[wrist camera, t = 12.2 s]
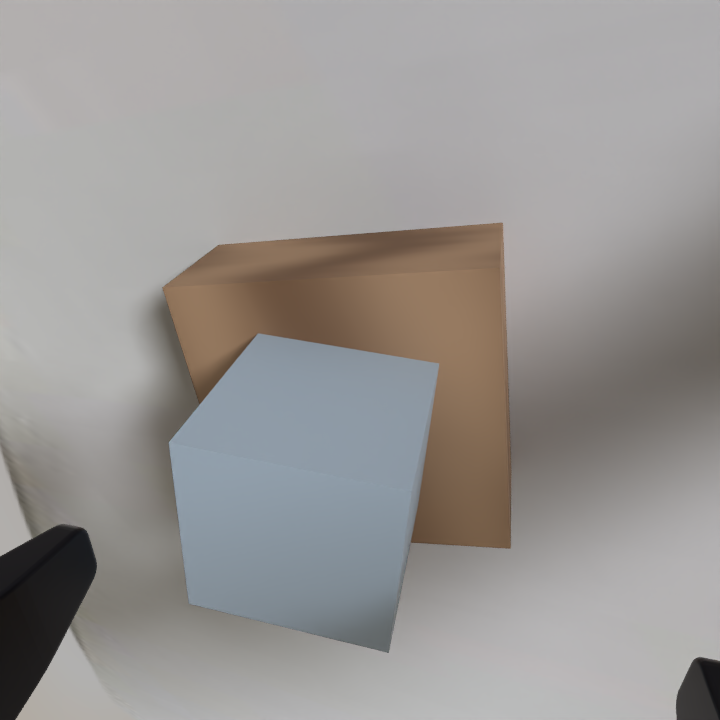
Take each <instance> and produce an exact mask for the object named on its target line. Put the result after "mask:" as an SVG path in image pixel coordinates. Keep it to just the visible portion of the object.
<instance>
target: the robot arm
mask: <svg viewBox="0 0 720 720" xmlns="http://www.w3.org/2000/svg"><path fill="white" fill-rule="evenodd" d="M96 569H97V562H96V558H95V555H94V552H93V548H92V545H91V542H90V539H89V535H88V533H87V531H86V530H85V529H83V528H81V527H76V526H71V525H66V524H62V525H57V526H55V527H53V528H51V529H49V530H47V531H46V532H44V533H42V534H40V535H38V536H37V537H35V538H33V539H31V540H29V541H27V542H26V543H24V544H22V545H20V546H18V547H17V548H15V549H13V550H11V551H9V552H7V553H6V554H4V555H2V556H0V720H15V719H16V718H17V716H18V715H19V713H20V712H21V710H22V708H23V707H24V705H25V704H26V702H27V700H28V699H29V697H30V696H31V694H32V692H33V691H34V689H35V688H36V686H37V685H38V683H39V681H40V680H41V678H42V676H43V674H44V673H45V671H46V670H47V668H48V666H49V664H50V663H51V661H52V659H53V657H54V655H55V653H56V651H57V650H58V647H59V646H60V644H61V642H62V640H63V638H64V636H65V634H66V632H67V630H68V628H69V626H70V624H71V622H72V620H73V618H74V616H75V614H76V612H77V610H78V609H79V607H80V605H81V603H82V601H83V599H84V597H85V595H86V593H87V591H88V589H89V587H90V585H91V583H92V581H93V579H94V577H95V574H96ZM676 715H677V720H720V661H717V660H712V659H708V658H703V657H698V658H696V659H694V660H693V662H692V663H691V666H690V668H689V670H688V672H687V674H686V676H685V678H684V680H683V682H682V685H681V687H680V689H679V691H678V694H677V700H676Z"/></svg>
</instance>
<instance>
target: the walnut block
mask: <svg viewBox="0 0 720 720" xmlns="http://www.w3.org/2000/svg"><path fill="white" fill-rule="evenodd" d="M162 288H163V291H164V294H165V297H166V300H167V303H168V307H169V310H170V313H171V316H172V319H173V322H174V325H175V329H176V332H177V335H178V338H179V341H180V344H181V347H182V351H183V354H184V357H185V360H186V363H187V366H188V370H189V373H190V376H191V379H192V382H193V385H194V388H195V392H196V395H197V398H198V401H199V404H201V402H202V401H203V400H204V399H205V398H206V396H207V395H208V394H209V393H210V391H211V390H212V389H213V388H214V387H215V385H216V384H217V383H218V382H219V380H220V379H221V378H222V377H223V376H224V374H225V373H226V372H227V371H228V369H229V368H230V367H231V366H232V365H233V363H234V362H235V361H236V360H237V358H238V357H239V356H240V355H241V354H242V352H243V351H244V350H245V349H246V347H247V346H248V345H249V344H250V343H251V341H252V340H253V339H254V338H255V336H256V335H257V334H258V333H259V334H265V335H271V336H277V337H283V338H289V339H295V340H301V341H307V342H313V343H319V344H325V345H331V346H337V347H343V348H349V349H355V350H361V351H367V352H373V353H379V354H385V355H391V356H397V357H403V358H409V359H415V360H421V361H427V362H433V363H439V369H438V376H437V383H436V389H435V396H434V403H433V409H432V416H431V422H430V429H429V436H428V442H427V449H426V456H425V462H424V469H423V475H422V482H421V489H420V495H419V502H418V508H417V513H416V518H415V523H414V528H413V533H412V538H411V542H412V543H428V544H444V545H461V546H477V547H493V548H509V549H510V547H511V447H510V418H509V389H508V359H507V330H506V301H505V272H504V243H503V223H493V224H480V225H467V226H455V227H442V228H429V229H416V230H403V231H391V232H378V233H365V234H352V235H340V236H327V237H314V238H301V239H289V240H276V241H263V242H250V243H238V244H225V245H218V246H217V247H215V248H214V249H213V250H211V251H210V252H209V253H207V254H206V255H205V256H203V257H202V258H201V259H199V260H198V261H197V262H196V263H194V264H193V265H192V266H190V267H189V268H188V269H186V270H185V271H184V272H182V273H181V274H180V275H178V276H177V277H176V278H174V279H173V280H172V281H170V282H169V283H168V284H166V285H165V286H164V287H162Z"/></svg>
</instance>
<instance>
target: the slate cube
mask: <svg viewBox="0 0 720 720" xmlns="http://www.w3.org/2000/svg"><path fill="white" fill-rule="evenodd" d="M438 369H439V363H433V362H427V361H421V360H415V359H409V358H403V357H397V356H391V355H385V354H379V353H373V352H367V351H361V350H355V349H349V348H343V347H337V346H331V345H325V344H319V343H313V342H307V341H301V340H295V339H289V338H283V337H277V336H271V335H265V334H259V333H258V334H257V335H256V336H255V338H254V339H253V340H252V341H251V343H250V344H249V345H248V346H247V347H246V349H245V350H244V351H243V352H242V354H241V355H240V356H239V357H238V358H237V360H236V361H235V362H234V363H233V365H232V366H231V367H230V368H229V369H228V371H227V372H226V373H225V374H224V376H223V377H222V378H221V379H220V380H219V382H218V383H217V384H216V385H215V387H214V388H213V389H212V390H211V391H210V393H209V394H208V395H207V396H206V398H205V399H204V400H203V401H202V402H201V404H200V405H199V406H198V407H197V409H196V410H195V411H194V412H193V413H192V415H191V416H190V417H189V418H188V420H187V421H186V422H185V423H184V424H183V426H182V427H181V428H180V429H179V431H178V432H177V433H176V434H175V436H174V437H173V438H172V439H171V440H170V442H169V449H170V457H171V465H172V473H173V481H174V489H175V497H176V505H177V513H178V521H179V529H180V537H181V545H182V553H183V561H184V569H185V577H186V585H187V593H188V601H189V604H192V605H196V606H200V607H204V608H208V609H212V610H216V611H221V612H225V613H229V614H233V615H237V616H241V617H245V618H249V619H253V620H257V621H261V622H265V623H269V624H273V625H278V626H282V627H286V628H290V629H294V630H298V631H302V632H306V633H310V634H314V635H318V636H322V637H326V638H330V639H335V640H339V641H343V642H347V643H351V644H355V645H359V646H363V647H367V648H371V649H375V650H379V651H383V652H387V653H389V649H390V644H391V639H392V634H393V629H394V624H395V618H396V613H397V608H398V603H399V598H400V593H401V588H402V583H403V578H404V573H405V568H406V563H407V558H408V553H409V548H410V543H411V538H412V533H413V528H414V523H415V518H416V513H417V508H418V502H419V495H420V489H421V482H422V475H423V469H424V462H425V456H426V449H427V442H428V436H429V429H430V422H431V416H432V409H433V403H434V396H435V389H436V383H437V376H438Z"/></svg>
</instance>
